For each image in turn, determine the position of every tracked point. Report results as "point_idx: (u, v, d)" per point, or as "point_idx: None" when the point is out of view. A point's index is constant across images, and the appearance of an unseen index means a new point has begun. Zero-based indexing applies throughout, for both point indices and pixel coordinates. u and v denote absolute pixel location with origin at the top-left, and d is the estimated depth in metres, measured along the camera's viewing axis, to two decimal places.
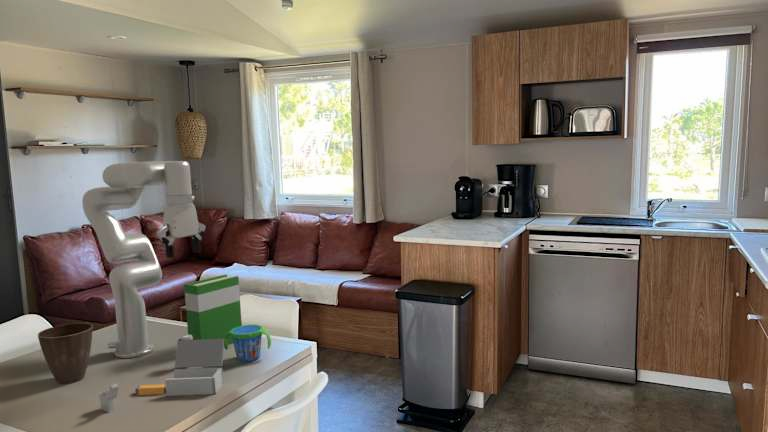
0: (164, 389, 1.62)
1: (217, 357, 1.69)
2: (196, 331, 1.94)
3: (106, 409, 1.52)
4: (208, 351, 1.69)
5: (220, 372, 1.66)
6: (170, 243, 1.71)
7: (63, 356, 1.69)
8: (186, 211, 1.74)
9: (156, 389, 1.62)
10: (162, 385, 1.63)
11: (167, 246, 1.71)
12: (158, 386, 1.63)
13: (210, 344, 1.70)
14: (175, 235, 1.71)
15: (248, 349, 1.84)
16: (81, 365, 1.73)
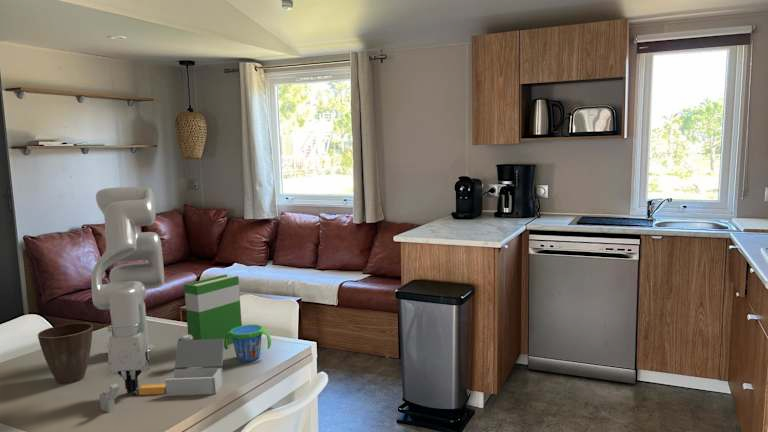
0: (165, 389, 1.62)
1: (217, 357, 1.69)
2: (196, 331, 1.94)
3: (106, 409, 1.52)
4: (208, 351, 1.69)
5: (220, 372, 1.66)
6: None
7: (63, 356, 1.69)
8: None
9: (156, 388, 1.62)
10: (163, 385, 1.63)
11: (136, 378, 1.63)
12: (159, 386, 1.63)
13: (210, 344, 1.70)
14: None
15: (248, 349, 1.84)
16: (81, 365, 1.73)
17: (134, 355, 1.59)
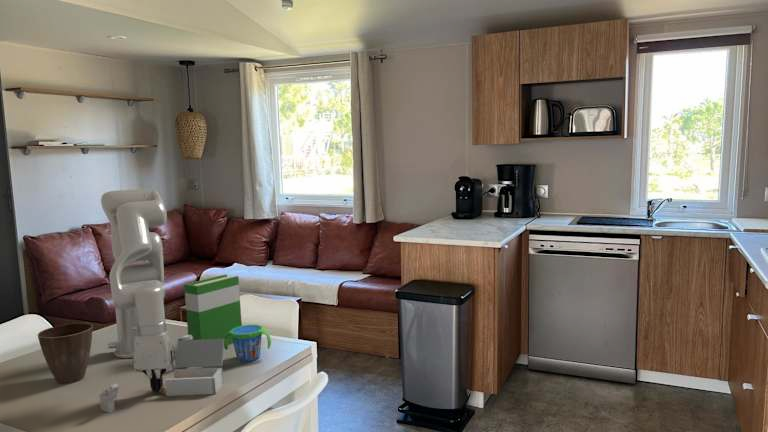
0: None
1: (217, 357, 1.69)
2: (196, 331, 1.94)
3: (106, 409, 1.52)
4: (208, 351, 1.69)
5: (220, 372, 1.66)
6: None
7: (63, 356, 1.69)
8: None
9: None
10: None
11: (161, 377, 1.63)
12: None
13: (210, 344, 1.70)
14: None
15: (248, 349, 1.84)
16: (81, 365, 1.73)
17: (159, 354, 1.59)
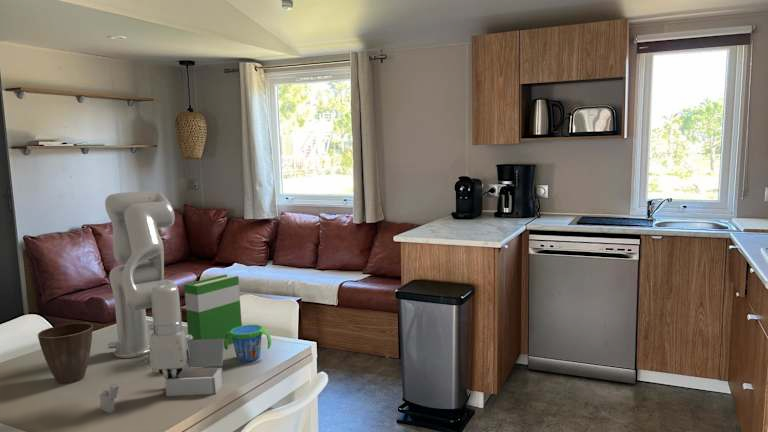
0: None
1: (217, 357, 1.69)
2: (196, 331, 1.94)
3: (106, 409, 1.52)
4: (208, 351, 1.69)
5: (220, 372, 1.66)
6: None
7: (63, 356, 1.69)
8: None
9: None
10: None
11: (177, 376, 1.63)
12: None
13: (210, 344, 1.70)
14: None
15: (248, 349, 1.84)
16: (81, 365, 1.73)
17: (176, 353, 1.59)
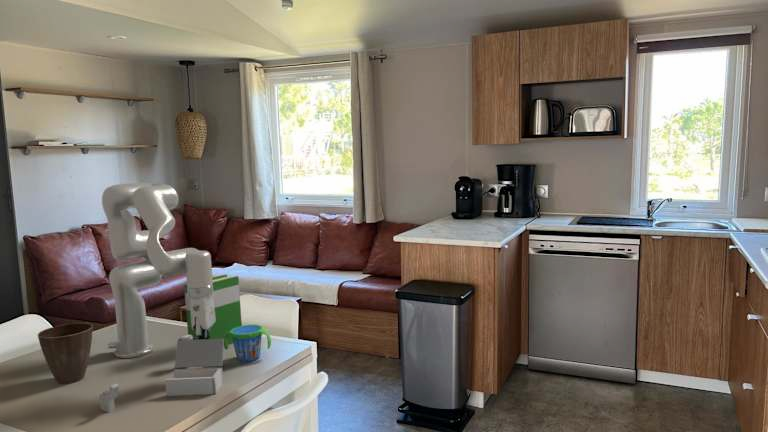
0: None
1: (217, 357, 1.68)
2: None
3: (106, 409, 1.52)
4: (208, 351, 1.69)
5: (220, 372, 1.66)
6: None
7: (63, 356, 1.69)
8: None
9: None
10: None
11: None
12: None
13: (210, 344, 1.70)
14: None
15: (248, 349, 1.84)
16: (81, 365, 1.73)
17: (213, 309, 1.76)
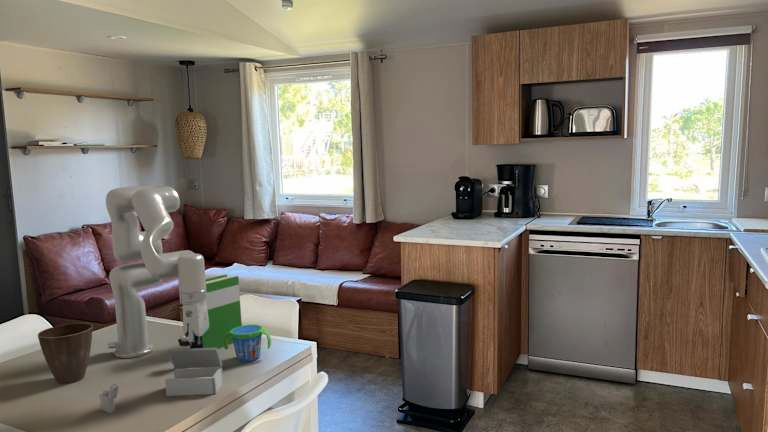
0: None
1: (215, 361, 1.66)
2: None
3: (106, 409, 1.52)
4: (204, 358, 1.65)
5: (220, 372, 1.66)
6: None
7: (63, 356, 1.69)
8: None
9: None
10: None
11: None
12: None
13: (203, 353, 1.64)
14: None
15: (248, 349, 1.84)
16: (81, 365, 1.73)
17: (207, 315, 1.68)
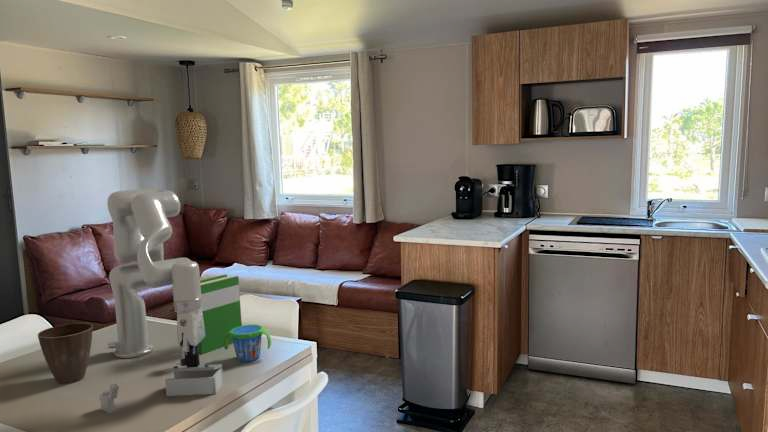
0: None
1: None
2: None
3: (106, 409, 1.52)
4: None
5: (220, 372, 1.66)
6: None
7: (63, 356, 1.69)
8: None
9: None
10: None
11: None
12: None
13: None
14: None
15: (248, 349, 1.84)
16: (81, 365, 1.73)
17: (202, 323, 1.65)
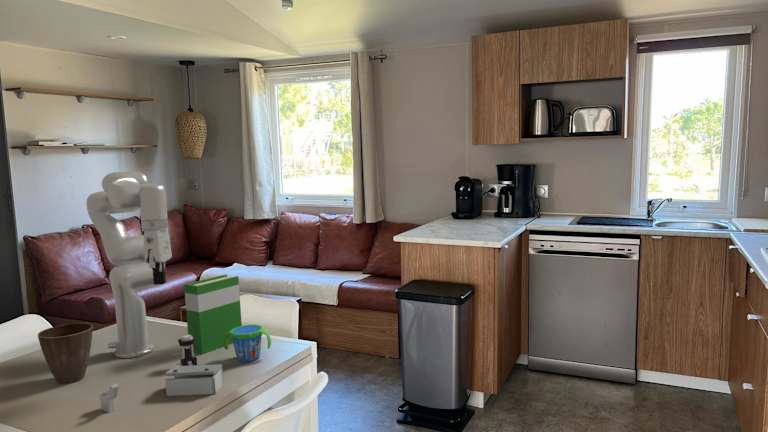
0: None
1: None
2: (196, 331, 1.94)
3: (106, 409, 1.52)
4: None
5: (220, 372, 1.66)
6: None
7: (63, 356, 1.69)
8: None
9: None
10: None
11: None
12: None
13: None
14: None
15: (248, 349, 1.84)
16: (81, 365, 1.73)
17: (169, 244, 1.76)
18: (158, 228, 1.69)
